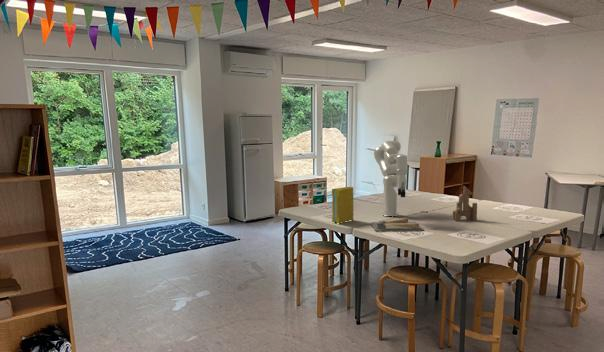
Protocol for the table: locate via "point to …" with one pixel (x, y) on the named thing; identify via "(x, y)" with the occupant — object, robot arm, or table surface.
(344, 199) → the book
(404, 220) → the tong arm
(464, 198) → the wooden toy
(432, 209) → the table surface
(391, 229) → the mat
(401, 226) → the tongs fixed
